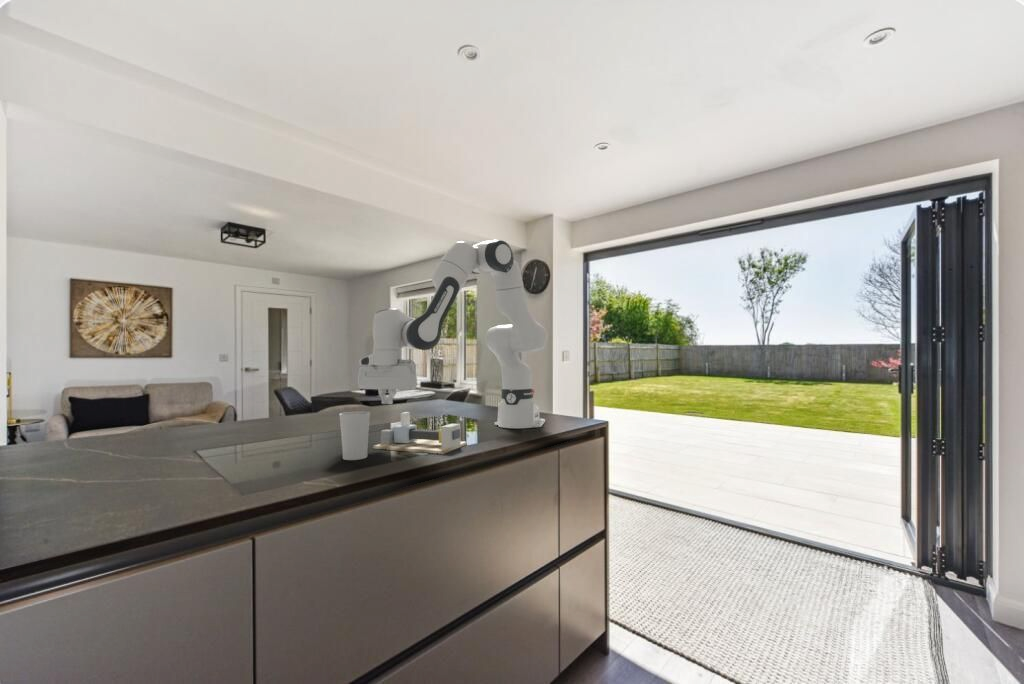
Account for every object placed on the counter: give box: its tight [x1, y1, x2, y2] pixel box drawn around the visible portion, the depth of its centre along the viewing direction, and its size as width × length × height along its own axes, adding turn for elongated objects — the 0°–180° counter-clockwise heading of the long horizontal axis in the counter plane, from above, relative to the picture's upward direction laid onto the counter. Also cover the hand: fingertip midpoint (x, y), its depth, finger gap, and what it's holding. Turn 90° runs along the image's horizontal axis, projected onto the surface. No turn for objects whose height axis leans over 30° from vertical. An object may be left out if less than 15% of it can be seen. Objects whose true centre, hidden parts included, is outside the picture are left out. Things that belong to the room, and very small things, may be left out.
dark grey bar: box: [389, 427, 441, 443], centre depth 135 cm, size 20×4×4 cm, turn 68°
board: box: [372, 439, 468, 455], centre depth 134 cm, size 24×14×1 cm, turn 68°
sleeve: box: [393, 411, 418, 443], centre depth 137 cm, size 5×5×9 cm
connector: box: [440, 423, 462, 448], centre depth 130 cm, size 4×6×6 cm, turn 158°
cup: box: [339, 410, 371, 461], centre depth 121 cm, size 8×8×12 cm
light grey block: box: [380, 428, 396, 445], centre depth 138 cm, size 3×8×4 cm, turn 158°
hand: (387, 404), depth 139 cm, fingers closed
